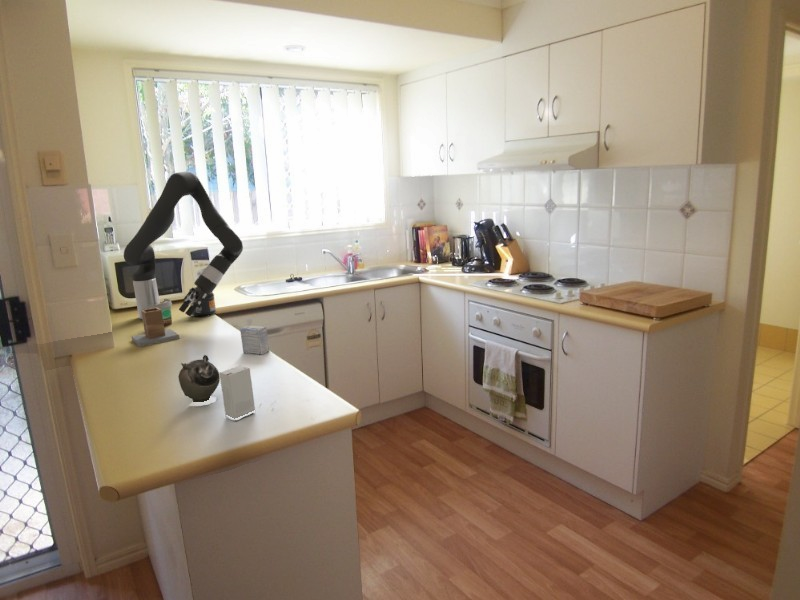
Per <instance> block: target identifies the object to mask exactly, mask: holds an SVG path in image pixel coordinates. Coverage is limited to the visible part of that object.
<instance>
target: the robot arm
mask: <svg viewBox="0 0 800 600" xmlns="http://www.w3.org/2000/svg"><path fill="white" fill-rule="evenodd" d="M185 196H191V197H192V198H193V200H195V202H196V203H197V206H198V207H199V209H200V214H201V218H202V221H203V223H204V225H206V227H207V229H209V231H210V232H211V233H212V235H213V236H214V237H215V238H217V240H218V241H219V242H220V244H221V245H222V246H223V248H222V249H221V250H220V252H219V253H218V254H217V255H214V256H213V258H212V260H211V261H210V262H209V264H208V265H207V266H206V267H205V268H204V269H203V270H202V272H201V273H200V274H199V276H198V277H197V279H196V280H195V281H194V286H196V288H195V287H191V288H190V289H191V290H190V291H188V292H187V294H186V295H185V296H184V298H183V303H182V304H181V305H180V307H178V311H180V312H181V313H185V315H187V316H188V317H192V316H193V315H192V314H193V312H194V311H195V310H196V309H197V308H200V307H201V306H202V304H203V303H204V301H205V300H206V299H207V297H208V295H207V294H206V292H207V293H208V294H211V293H213V292H214V290H215V289H216V288H217V286H218V285H219V283H220V282H221V280H222V279H223V277H224V275H225V274H226V272H227V271H228V270H229V269H230V267H231V266H232V264H234V262H235V261H236V260H237V259H238V258H239V257H240V255H241V254H242V252H243V250H244V247H243V241H242V240H241V238H240V237H239V236H238V234H237V233H236V232H235V231H234V230H233V229H232V228H231V227H230V226H229V224H228V223H227V222H226V220H225V219H224V218H223V216H222V215H221V213H220V212H219V211H218V209H217V208H216V207H215V205H214V203H213V202H212V200H211V199H210V196H209V194H208V193H207V191H206V189H205V188H204V185H203V183H202V182H201V180H200V179H199V177H198V176H197V175H196V174H195V173H194V172H192V171H188V170H187V171H179V172H175V173H172V174H171V175H170V176H169V177H168V179H167V181H166V182H165V186H164V187H163V190H162V193H161V195H160V196H159V197H158V199H157V200H156V203H155V204H154V206H153V207H152V209H151V210H150V212H149V213H148V215H147V217H146V218H145V220H144V222H143V223H142V225H141V226H140V228H139V230H138V231H137V232H136V234H135V235H134V236H133V238H132V239H131V240H130V241H129V242H128V243H127V245H126V246H125V248H124V250H123V259H124V261H125V263H126V264H127V265H131V266H138V268H137V270H136V271H134V272H133V274H132V275H131V277H132V285H133V290H134V296H135V301H136V307H137V308H136V309H137V314H138V319H139V320H143V318H142V312H141V310H145V309H147V305H154V304H156V303H160V302H161V301H160V296H159V291H158V290H159V289H158V284H157V278H156V273H157V263H156V255H155V250H154V247H153V246H152V245H151V244H153V243H154V242H155V241H157V240H158V239H160V238H161V237H162V236H163V235H165V234H166V232H168V230H169V229H170V227H171V225H172V224H173V222H174V220H175V207H176V206H177V204H178V203H179V202H180V200H182V198H183V197H185ZM191 303H192V304H191ZM190 304H191V305H192V306H190ZM199 304H200V305H199Z"/></svg>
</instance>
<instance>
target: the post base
mask: <svg viewBox="0 0 800 600" xmlns="http://www.w3.org/2000/svg"><path fill="white" fill-rule="evenodd" d="M164 330H165V336H160V337H155V338H150V339H149V338H148V337H146V336H145V333H143V334H139V335H138V334H137V335H132V336H131V340H133V341H132V342H134V344H136V345H137V346H138V347H140V348H141V347H145V345H147V346H150V345H149V344H151V345H154V344H153V343H156V344H159V343H158V342H161V343H164V342H163V341H165V342H169V341H168V340H170V341H173V340H172V339H175V340H179V339H180V334H179V333H177V332H175V330H172V329H171V328H168V329H167V328H166V329H164Z"/></svg>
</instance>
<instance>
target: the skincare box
mask: <svg viewBox="0 0 800 600" xmlns="http://www.w3.org/2000/svg"><path fill="white" fill-rule="evenodd" d="M219 375H220V386H221V392H222V400H223V406H224V407H223V408H224V414H225V416H226V415H228V416H230V417H232V418H234V419H235V418H238V417H240V416H243V415H245V414H248V413H249V412H252V411H254V410H255V411H256V407H255V399H254V392H253V391H254V390H253V383H252V376H251V369H250V367H248V366H244V365H237V366H235V367H231V368H229V369H226V370H223V371H220V372H219Z"/></svg>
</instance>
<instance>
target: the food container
mask: <svg viewBox="0 0 800 600" xmlns="http://www.w3.org/2000/svg"><path fill="white" fill-rule="evenodd" d="M159 302H160V303H156V304H154V305H147V309H151V308H157V307H158V308H159V309H161V311H162V317H163V323H164V328H166V327H168V326H171V325H172V323H173V321H172V319H173V318H172V306H173V303H172V301H171V300H170V298H164V299H163V301H159Z"/></svg>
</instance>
